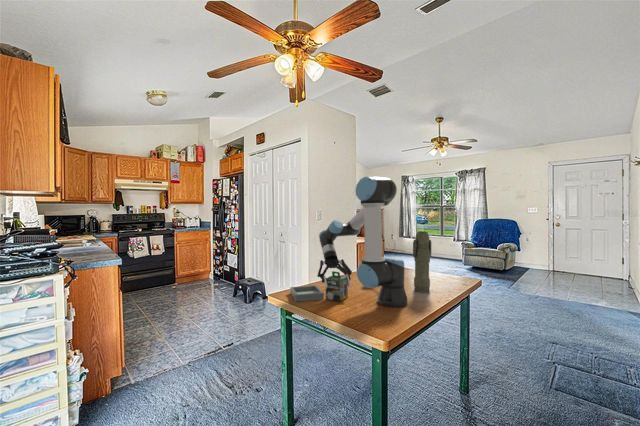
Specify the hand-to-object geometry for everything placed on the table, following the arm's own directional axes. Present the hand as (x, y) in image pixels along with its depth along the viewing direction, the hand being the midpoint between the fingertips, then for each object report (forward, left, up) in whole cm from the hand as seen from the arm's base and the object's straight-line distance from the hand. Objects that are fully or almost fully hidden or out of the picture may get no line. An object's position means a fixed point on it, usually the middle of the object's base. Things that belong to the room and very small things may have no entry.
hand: (338, 286), depth 156 cm
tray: (+10, +15, -7) cm, 20 cm away
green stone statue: (+3, -54, -7) cm, 55 cm away
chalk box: (+2, 0, -7) cm, 8 cm away
